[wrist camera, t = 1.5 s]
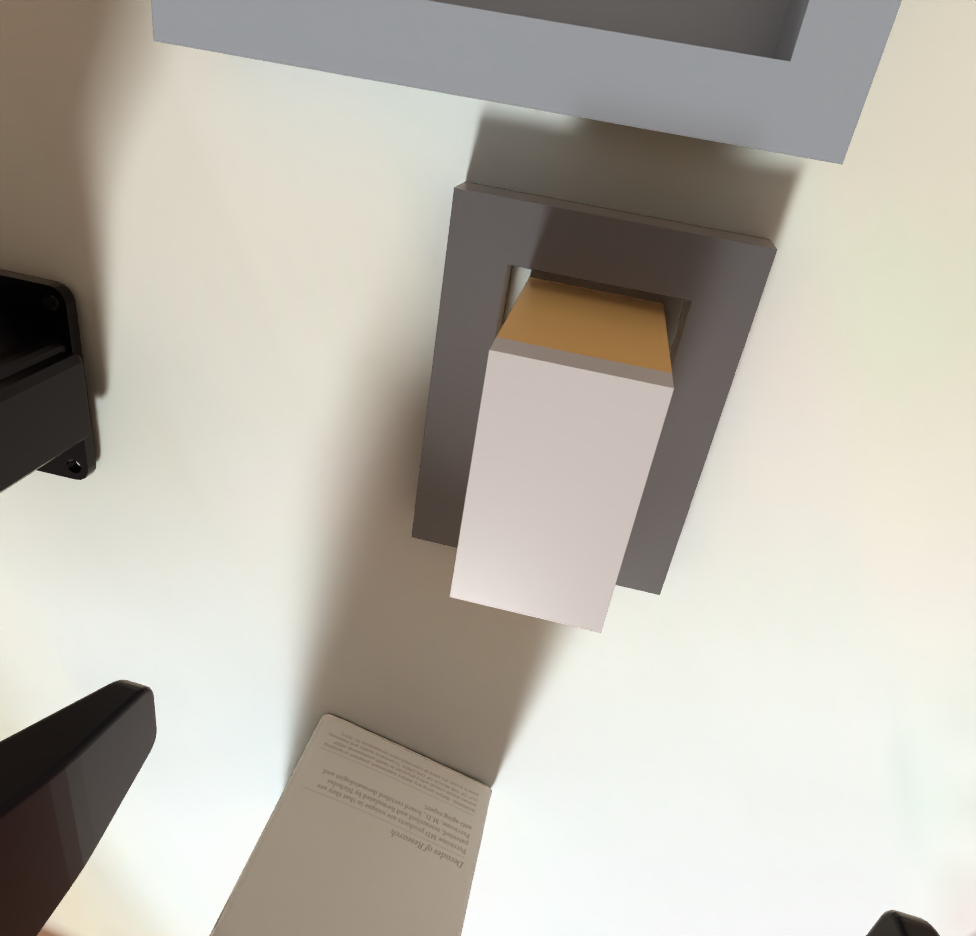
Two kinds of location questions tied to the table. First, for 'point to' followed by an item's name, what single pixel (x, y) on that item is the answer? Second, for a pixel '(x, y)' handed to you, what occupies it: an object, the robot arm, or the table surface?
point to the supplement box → (362, 844)
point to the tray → (585, 57)
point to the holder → (605, 259)
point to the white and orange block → (562, 451)
